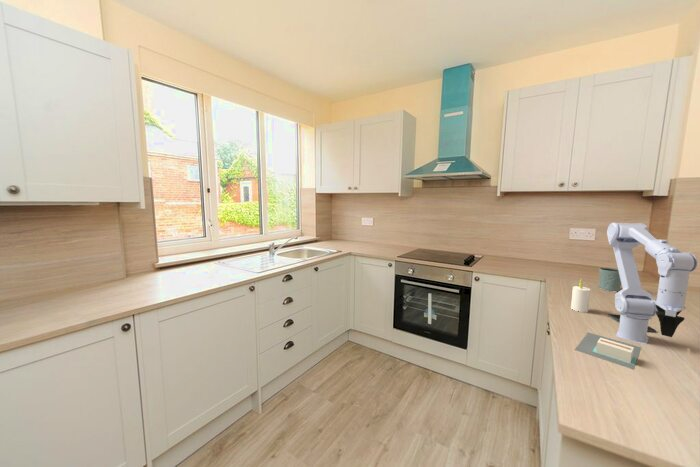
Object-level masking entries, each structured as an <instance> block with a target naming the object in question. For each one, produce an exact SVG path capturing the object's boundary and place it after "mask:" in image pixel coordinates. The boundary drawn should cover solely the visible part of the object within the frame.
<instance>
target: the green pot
mask: <svg viewBox="0 0 700 467" xmlns="http://www.w3.org/2000/svg"><path fill="white" fill-rule="evenodd" d="M598 272H599V273H598V275H599V279H598V280H599V289H600V288H602V289H605V290H604V291H606V290H609V291H608V292H611V291H621V287H622V284H621V280H620V275H619V271H618V268H613V267H612V268H611V267H600V268H598ZM602 289H601V290H602Z"/></svg>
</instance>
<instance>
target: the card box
mask: <svg viewBox="0 0 700 467" xmlns="http://www.w3.org/2000/svg"><path fill="white" fill-rule="evenodd" d="M633 351H634V347H631V346H628V345H624V344H621V343H617V342H614V341H610V340H607V339H604V338H600V339H599V340H598V342H597V347H596V352H597V353H600V354H603V355H607V356H610V357H613V358H616V359H619V360H622V361H625V362H628V363H630V362H631V360H632V358H633Z"/></svg>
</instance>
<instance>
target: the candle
mask: <svg viewBox="0 0 700 467" xmlns="http://www.w3.org/2000/svg"><path fill="white" fill-rule="evenodd" d="M571 291H572V293H571V302H570V303H571V304H570V309H571V310H572V309H573V311H574V310H575V312H578V311H579V312H578V313H589V306H590V299H591V298H590V297H591V288H589V287H585V286H584V283H583V279H582V278H580V279H579V284H578V286H577V285H575V286H572V290H571Z"/></svg>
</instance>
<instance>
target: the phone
mask: <svg viewBox="0 0 700 467" xmlns="http://www.w3.org/2000/svg"><path fill="white" fill-rule="evenodd" d="M607 317H608V318H610V319H612V320H614V321H616V322H617V323H620V314H611V313H607ZM656 332H657V330H656V329H655V328H653V327H651V326H649V325H648V329H647V333H656Z"/></svg>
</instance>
